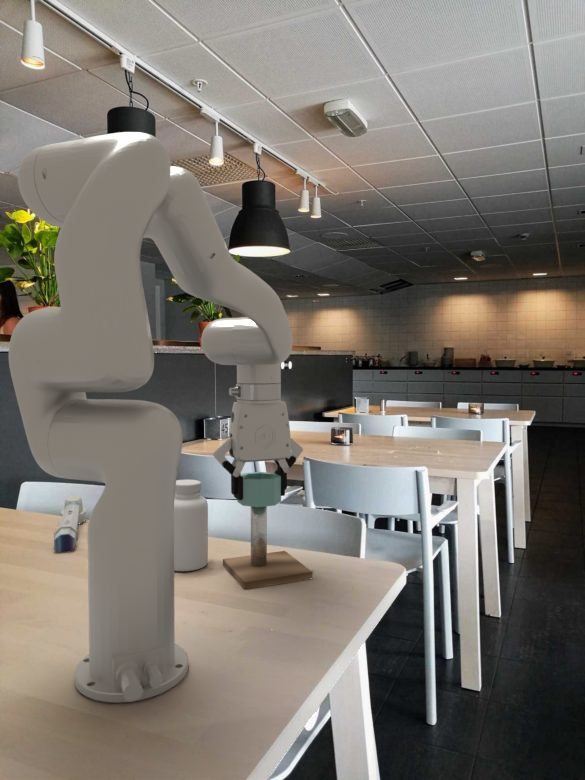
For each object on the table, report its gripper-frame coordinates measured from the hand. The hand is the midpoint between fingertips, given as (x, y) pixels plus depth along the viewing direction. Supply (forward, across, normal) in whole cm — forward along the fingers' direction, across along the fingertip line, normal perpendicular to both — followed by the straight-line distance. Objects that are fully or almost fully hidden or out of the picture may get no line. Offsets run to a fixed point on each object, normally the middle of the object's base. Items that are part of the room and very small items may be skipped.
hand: (259, 495), depth 100 cm
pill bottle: (+13, -11, +8) cm, 19 cm away
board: (+13, +1, -1) cm, 13 cm away
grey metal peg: (+12, 0, 0) cm, 12 cm away
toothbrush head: (+14, -29, +36) cm, 49 cm away
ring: (+1, 0, 0) cm, 1 cm away
